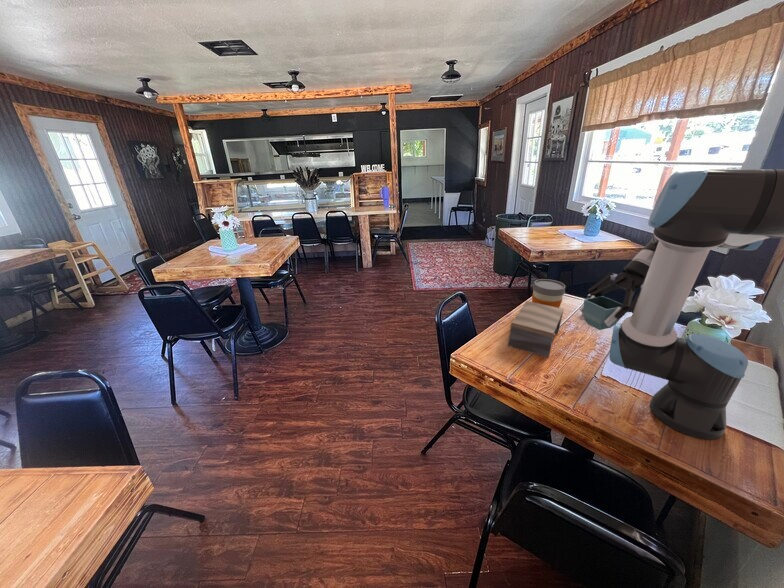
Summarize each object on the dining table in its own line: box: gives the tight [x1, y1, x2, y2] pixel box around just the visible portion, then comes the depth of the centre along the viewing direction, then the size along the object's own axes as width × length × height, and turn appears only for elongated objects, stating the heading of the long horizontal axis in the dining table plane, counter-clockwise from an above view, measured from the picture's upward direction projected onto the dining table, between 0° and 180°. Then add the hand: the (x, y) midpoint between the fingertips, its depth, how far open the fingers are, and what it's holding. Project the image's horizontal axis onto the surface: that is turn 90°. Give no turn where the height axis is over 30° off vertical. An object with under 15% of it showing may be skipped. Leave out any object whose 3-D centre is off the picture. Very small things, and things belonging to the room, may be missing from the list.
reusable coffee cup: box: [531, 278, 566, 308], centre depth 137 cm, size 13×13×15 cm
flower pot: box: [582, 295, 623, 331], centre depth 105 cm, size 9×9×9 cm
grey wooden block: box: [507, 300, 564, 359], centre depth 121 cm, size 22×14×10 cm, turn 145°
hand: (593, 317), depth 105 cm, fingers closed on flower pot, 9 cm apart
